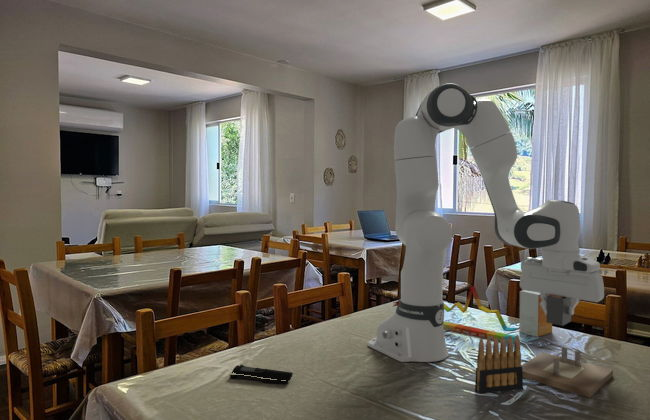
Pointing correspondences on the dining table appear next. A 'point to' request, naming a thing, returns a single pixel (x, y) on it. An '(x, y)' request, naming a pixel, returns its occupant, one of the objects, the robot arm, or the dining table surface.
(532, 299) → the small box
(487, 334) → the chart
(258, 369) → the electric trimmer
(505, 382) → the ammunition clip
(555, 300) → the plug block
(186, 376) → the dining table surface
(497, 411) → the dining table surface
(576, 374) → the board
